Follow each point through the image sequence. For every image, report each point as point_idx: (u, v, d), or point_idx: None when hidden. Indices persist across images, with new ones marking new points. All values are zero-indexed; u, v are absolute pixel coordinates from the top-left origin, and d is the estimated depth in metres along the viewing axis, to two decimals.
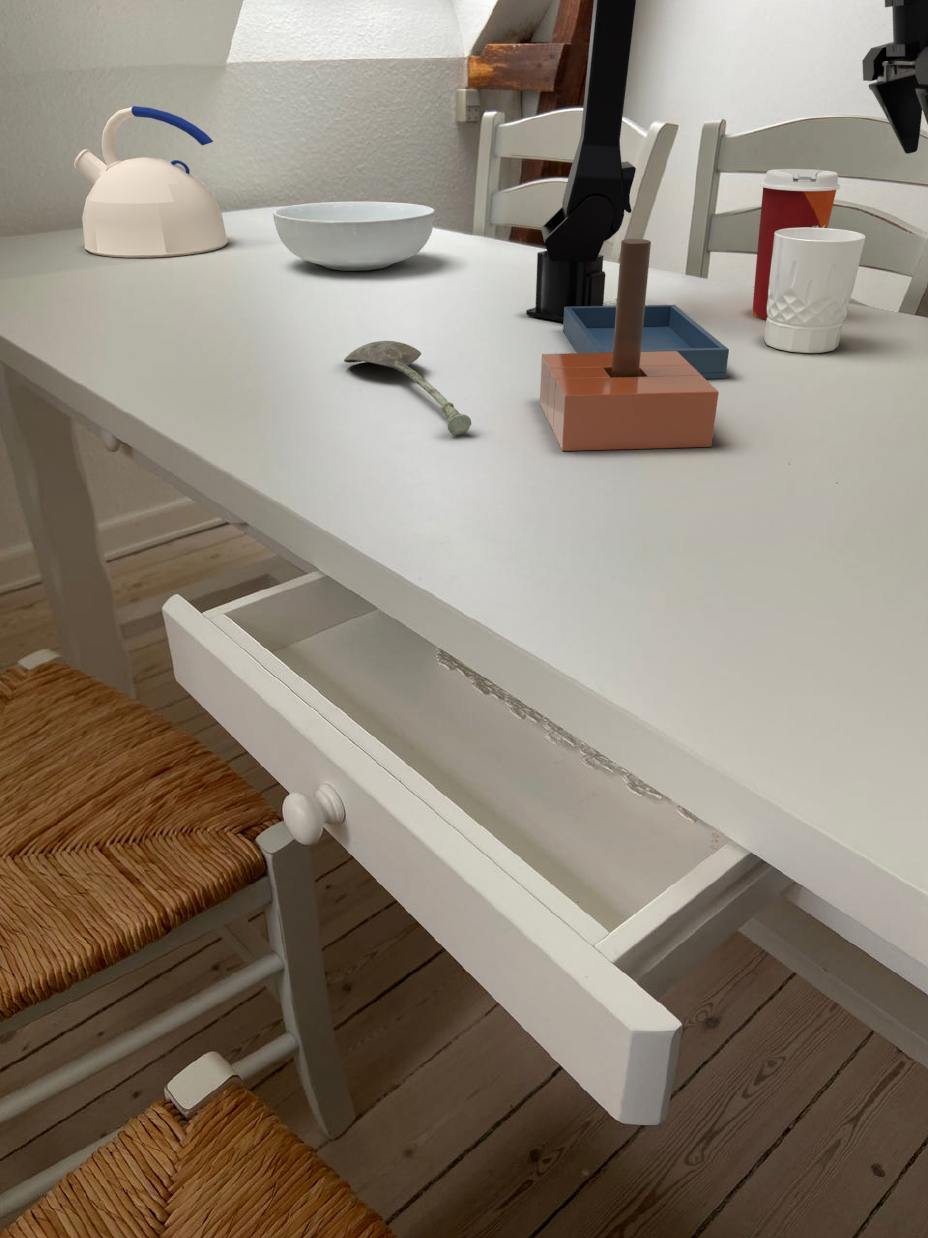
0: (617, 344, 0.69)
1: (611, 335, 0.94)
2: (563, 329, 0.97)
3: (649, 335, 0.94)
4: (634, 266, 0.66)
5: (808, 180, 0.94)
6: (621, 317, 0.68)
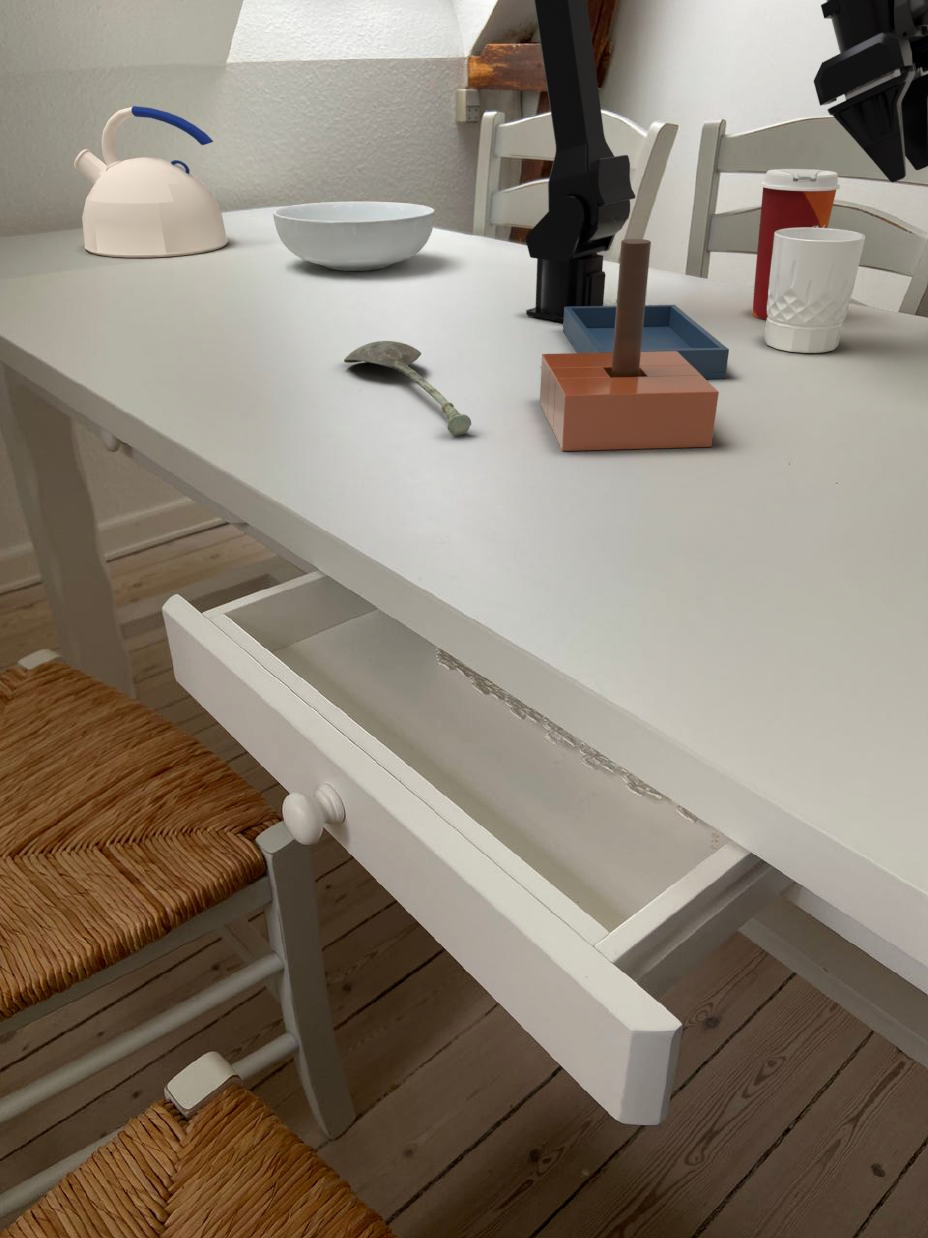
0: (617, 344, 0.69)
1: (611, 335, 0.94)
2: (563, 329, 0.97)
3: (649, 335, 0.94)
4: (634, 266, 0.66)
5: (808, 180, 0.94)
6: (621, 317, 0.68)
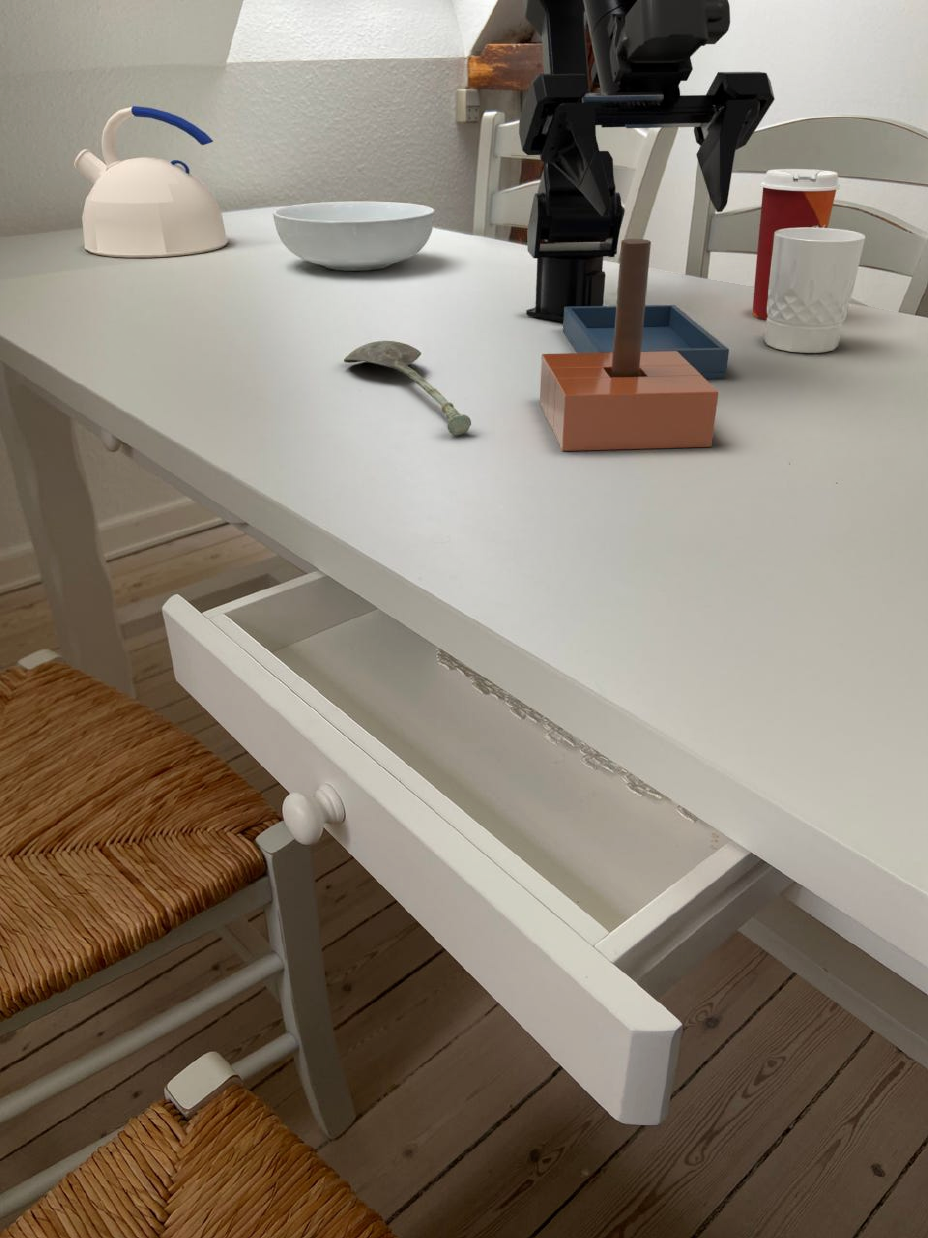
0: (617, 344, 0.69)
1: (611, 335, 0.94)
2: (563, 329, 0.97)
3: (649, 335, 0.94)
4: (634, 266, 0.66)
5: (808, 180, 0.94)
6: (621, 317, 0.68)
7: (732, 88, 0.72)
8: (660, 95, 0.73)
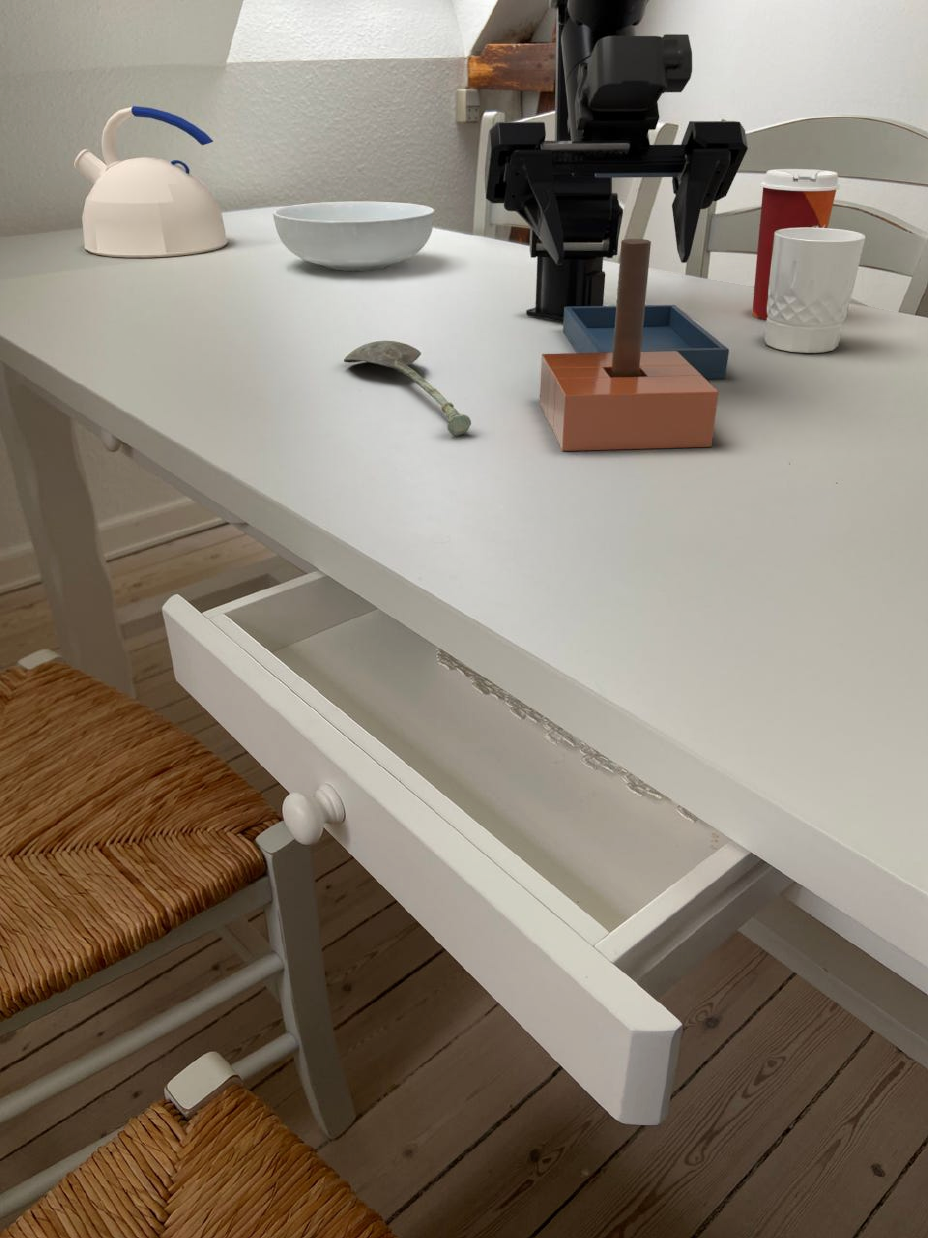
0: (617, 344, 0.69)
1: (611, 335, 0.94)
2: (563, 329, 0.97)
3: (649, 335, 0.94)
4: (634, 266, 0.66)
5: (808, 180, 0.94)
6: (621, 317, 0.68)
7: (700, 137, 0.69)
8: (626, 144, 0.70)
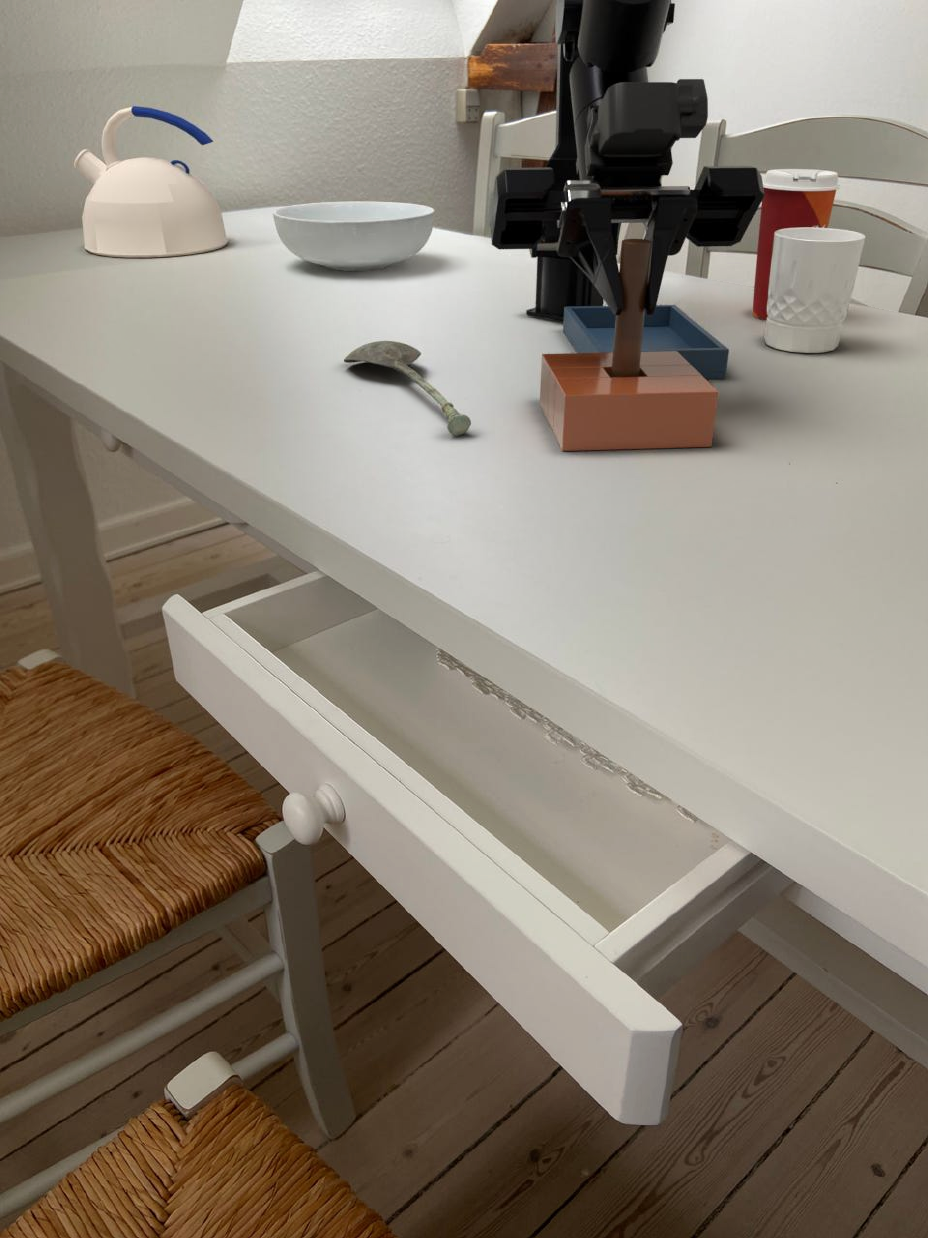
0: (618, 344, 0.69)
1: (611, 335, 0.94)
2: (563, 329, 0.97)
3: (649, 335, 0.94)
4: (634, 266, 0.66)
5: (808, 180, 0.94)
6: (621, 317, 0.68)
7: (715, 184, 0.67)
8: (686, 190, 0.68)
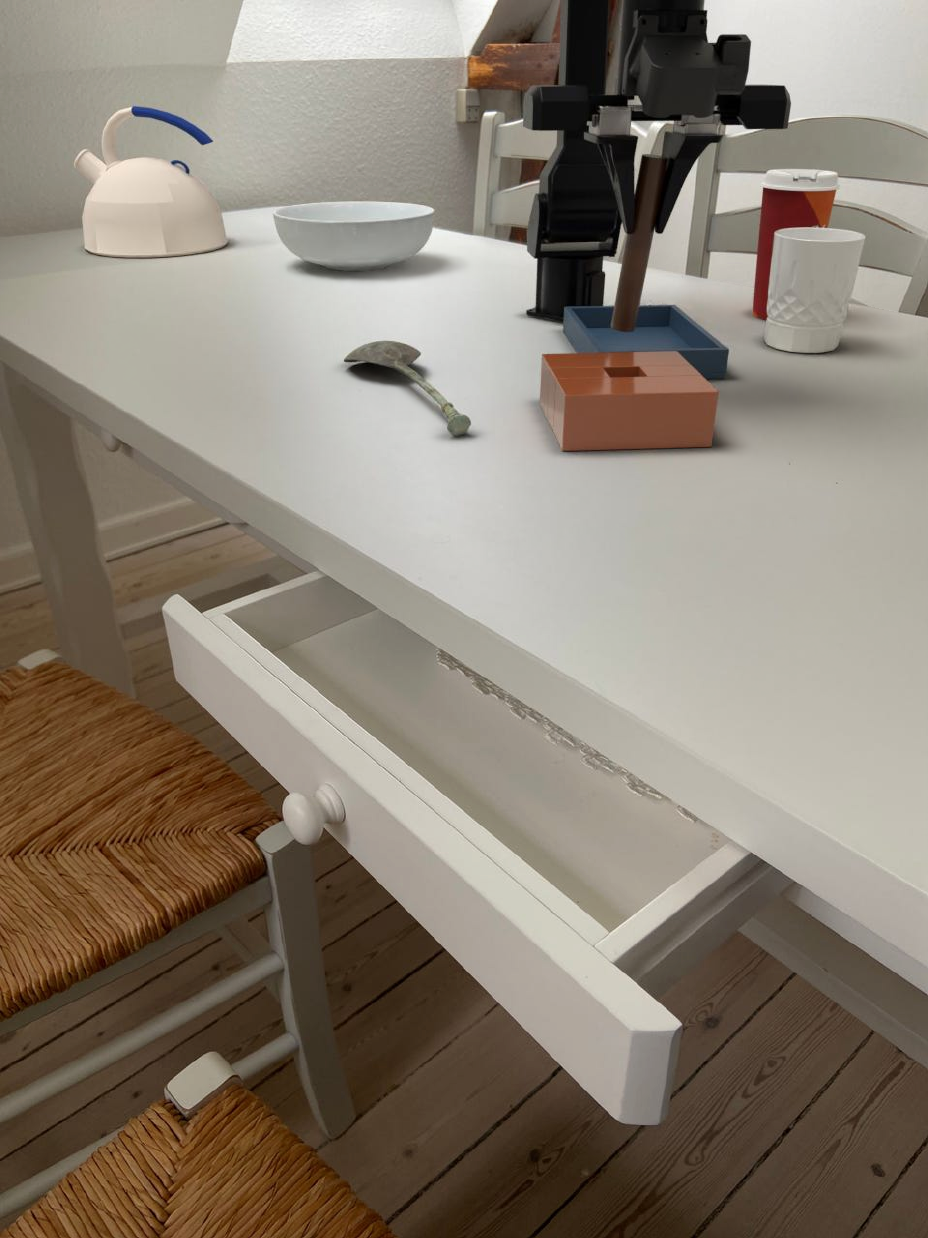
0: (628, 251, 0.76)
1: (611, 335, 0.94)
2: (563, 329, 0.97)
3: (649, 335, 0.94)
4: (650, 179, 0.73)
5: (808, 180, 0.94)
6: (633, 226, 0.75)
7: (742, 121, 0.69)
8: (715, 110, 0.70)
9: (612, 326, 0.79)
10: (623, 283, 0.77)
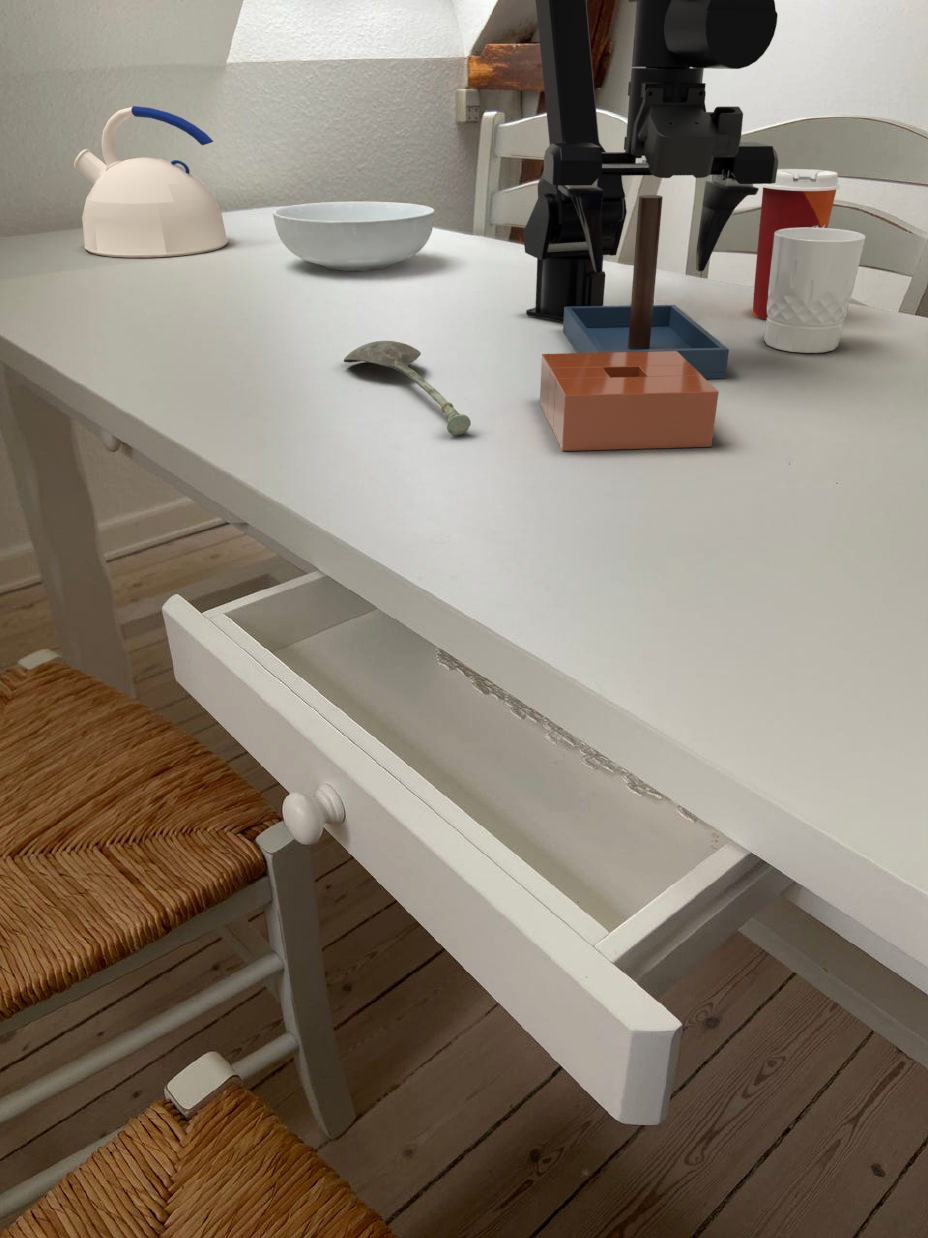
0: (636, 280, 0.86)
1: (611, 335, 0.94)
2: (563, 329, 0.97)
3: None
4: (649, 216, 0.83)
5: (808, 180, 0.94)
6: (638, 258, 0.85)
7: (736, 177, 0.79)
8: None
9: (629, 346, 0.89)
10: (635, 308, 0.87)
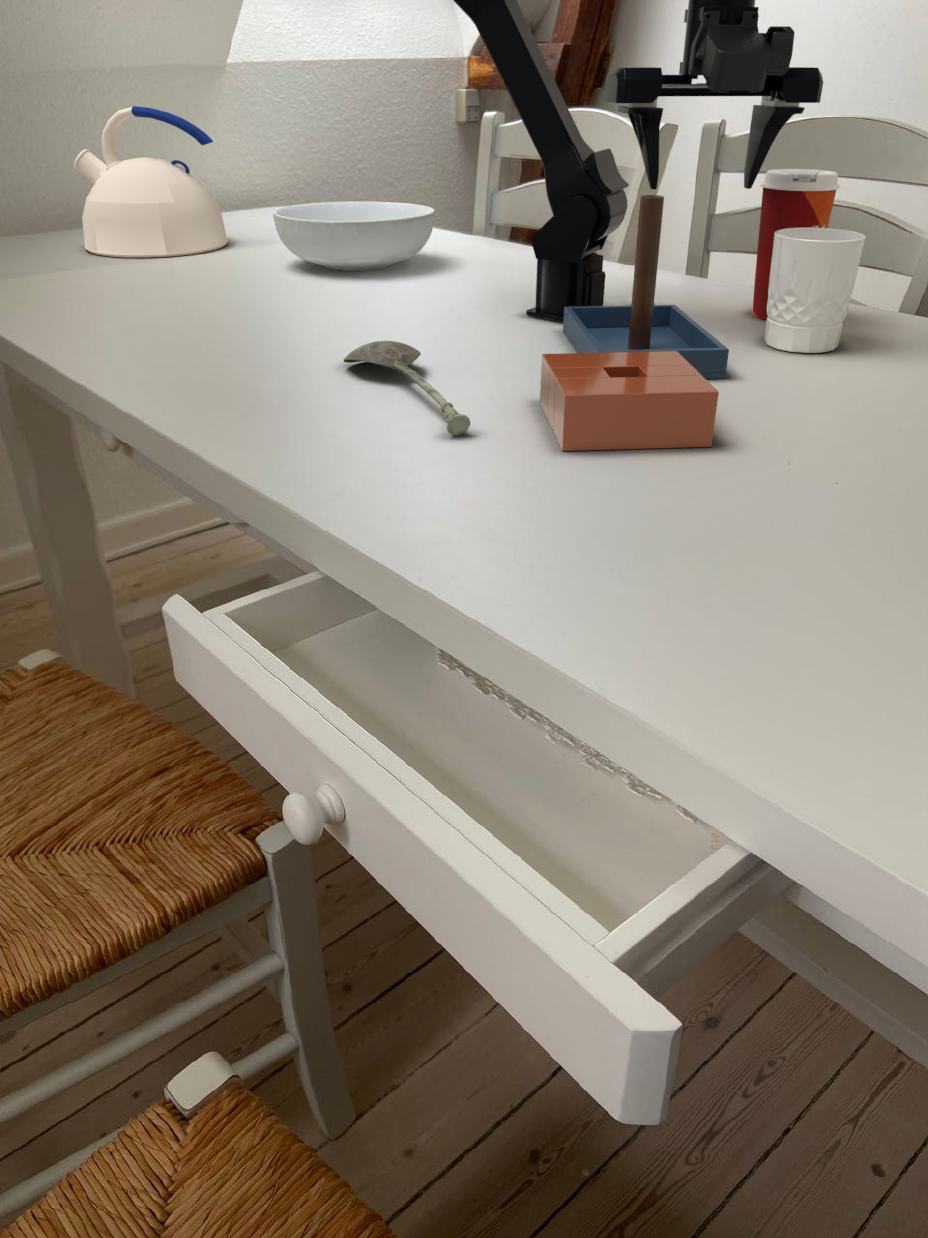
0: (636, 280, 0.86)
1: (611, 335, 0.94)
2: (563, 329, 0.97)
3: None
4: (650, 216, 0.83)
5: (808, 180, 0.94)
6: (639, 258, 0.85)
7: (784, 96, 0.86)
8: None
9: (629, 346, 0.89)
10: (635, 308, 0.87)
